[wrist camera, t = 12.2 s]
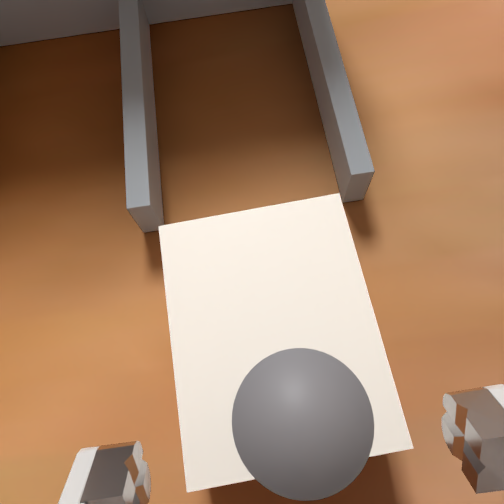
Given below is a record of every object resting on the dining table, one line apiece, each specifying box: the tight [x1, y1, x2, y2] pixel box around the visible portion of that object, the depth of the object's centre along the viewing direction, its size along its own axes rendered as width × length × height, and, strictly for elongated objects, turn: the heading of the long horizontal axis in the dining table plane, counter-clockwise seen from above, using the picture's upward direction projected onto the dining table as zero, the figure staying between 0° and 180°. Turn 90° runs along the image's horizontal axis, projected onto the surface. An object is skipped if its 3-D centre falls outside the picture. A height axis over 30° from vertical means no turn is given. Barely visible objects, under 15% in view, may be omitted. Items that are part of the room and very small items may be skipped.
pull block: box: [158, 193, 413, 501], centre depth 13 cm, size 7×9×10 cm
